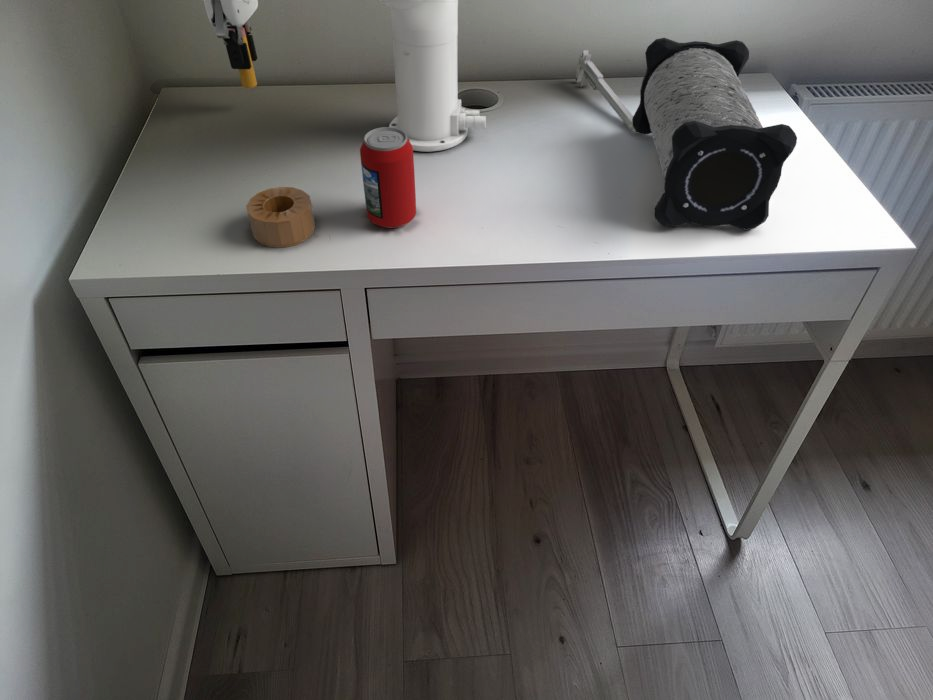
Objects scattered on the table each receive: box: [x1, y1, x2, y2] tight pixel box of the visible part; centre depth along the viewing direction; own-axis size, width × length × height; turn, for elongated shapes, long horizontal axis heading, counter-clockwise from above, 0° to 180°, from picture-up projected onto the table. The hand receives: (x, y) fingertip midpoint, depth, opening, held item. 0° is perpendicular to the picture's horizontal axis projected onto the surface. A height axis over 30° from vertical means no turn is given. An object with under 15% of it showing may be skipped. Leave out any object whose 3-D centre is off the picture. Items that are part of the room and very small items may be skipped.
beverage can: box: [359, 126, 417, 229], centre depth 93 cm, size 7×7×12 cm
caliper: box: [575, 49, 638, 134], centre depth 119 cm, size 20×1×6 cm, turn 22°
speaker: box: [632, 37, 798, 231], centre depth 99 cm, size 15×28×15 cm, turn 177°
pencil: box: [228, 27, 258, 89], centre depth 114 cm, size 2×2×9 cm
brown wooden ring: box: [246, 186, 316, 249], centre depth 94 cm, size 8×8×4 cm
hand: (244, 63), depth 115 cm, fingers closed on pencil, 2 cm apart
